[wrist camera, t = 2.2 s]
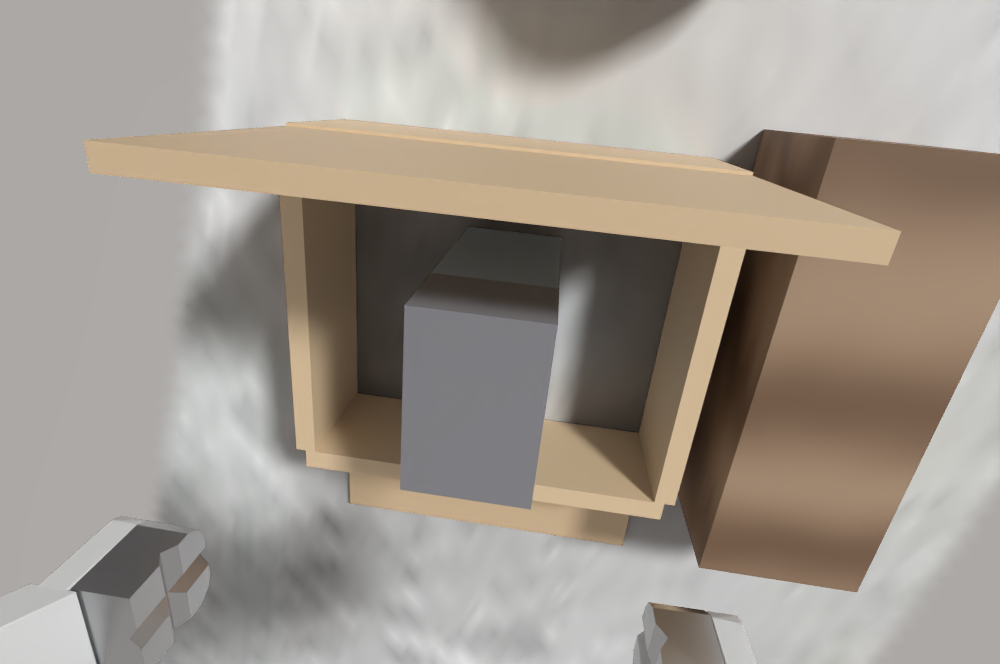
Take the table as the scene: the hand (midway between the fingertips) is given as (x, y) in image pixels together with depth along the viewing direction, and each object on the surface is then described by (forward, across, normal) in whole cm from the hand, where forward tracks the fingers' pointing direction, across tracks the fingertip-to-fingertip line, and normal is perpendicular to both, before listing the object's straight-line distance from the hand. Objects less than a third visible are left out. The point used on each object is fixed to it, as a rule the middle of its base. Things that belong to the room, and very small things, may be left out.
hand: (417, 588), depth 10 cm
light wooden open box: (+16, 0, +3) cm, 16 cm away
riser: (+16, -12, 0) cm, 20 cm away
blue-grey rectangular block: (+16, 0, 0) cm, 16 cm away
